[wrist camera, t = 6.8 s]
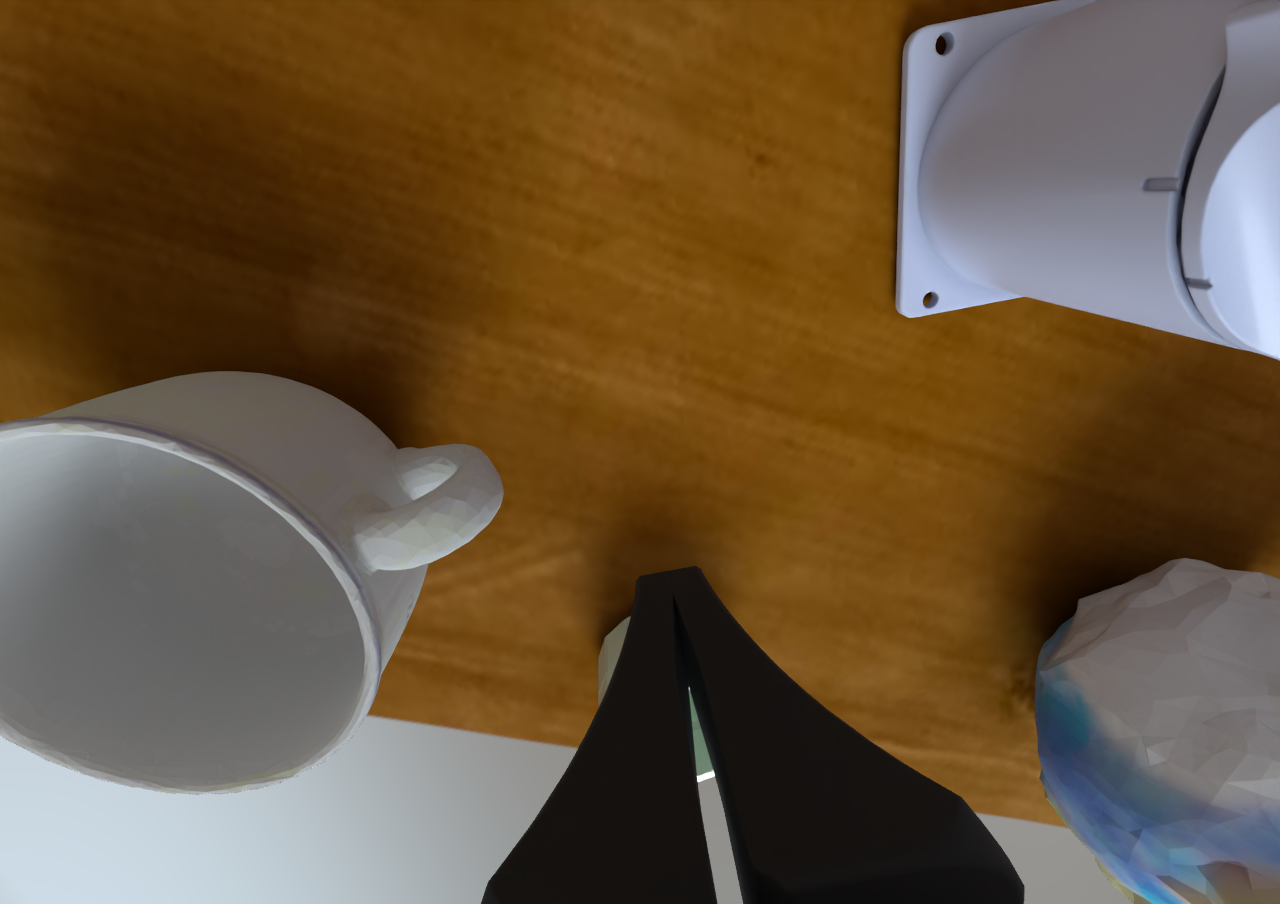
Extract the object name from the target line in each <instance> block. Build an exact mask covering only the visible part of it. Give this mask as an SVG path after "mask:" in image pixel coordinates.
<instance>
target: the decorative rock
mask: <svg viewBox="0 0 1280 904" xmlns="http://www.w3.org/2000/svg"><path fill="white" fill-rule="evenodd" d="M1035 718H1036V726H1037V734H1038V754H1039V758H1040V762H1041V766H1042V770H1041V774H1040V780H1041V782H1042V785H1043V787H1044V792H1045V797H1046V798H1047V800H1048V801H1049V802H1050V804H1051V805H1052V806H1053V808H1054V809H1055V810H1056V812H1057V813H1058V815H1059V816H1060V817H1061V819H1062V820H1063V822H1064V823H1065V824H1066V825H1067V826H1068V828H1069V829H1070V830H1071V831H1072V832H1073V833H1074V835H1075V836H1076V837H1077V838H1078V839H1079V840H1080V841H1081V843H1082V844H1083V845H1084V846H1085V847H1086V848H1087V849H1088V850H1089V851H1090V852H1091V854H1092V855H1093V856H1094V858H1095V860H1096V862H1097V864H1098V866H1099V868H1100V870H1101V871H1102V872H1103V874H1104V875H1105V877H1106V878H1107V879H1108V881H1109V882H1110V883H1111V884H1112V885H1113V886H1114V887H1116V888H1117V889H1118V890H1119V891H1120V892H1122V893H1123V894H1124V895H1125V896H1126V897H1128V898H1129V899H1130V900H1131V901H1132V903H1133V904H1280V579H1278V578H1276V577H1273V576H1270V575H1267V574H1264V573H1259V572H1249V571H1238V570H1228V569H1223V568H1220V567H1218V566H1215V565H1213V564H1210V563H1207V562H1205V561H1201V560H1194V559H1188V558H1181V559H1175V560H1170V561H1168V562H1167V563H1165V564H1163V565H1162V566H1160V567H1158V568H1156V569H1155V570H1153V571H1151V572H1149V573H1146V574H1143V575H1139V576H1138V577H1136V578H1134V579H1133V580H1131V581H1129V582H1127V583H1124V584H1122V585H1119V586H1115V587H1113V588H1110V589H1107V590H1104V591H1101V592H1098V593H1095V594H1093V595H1090V596H1087V597H1084V598H1081V599H1078V606H1077V611H1076V613H1075V615H1074V616H1073V617H1072V618H1070V619H1069V620H1067V621H1066V622H1064V623H1063V624H1061V626H1060V627H1059V628H1058V629H1057V631H1056V632H1055V633H1054V635H1053V636H1052V637H1051V638H1050V639H1048V640H1047V641H1046V642H1045V643H1044V644H1043V647H1042V649H1041V651H1040V654H1039V656H1038V662H1037V668H1036V675H1035Z"/></svg>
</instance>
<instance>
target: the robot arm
mask: <svg viewBox="0 0 1280 904" xmlns="http://www.w3.org/2000/svg"><path fill="white" fill-rule="evenodd" d="M939 36H942V37H943V38H944V39H945V41H946V48H945V52H944V53H943V54H942V55H939V54H938V53H937V52H936V47H935V45H936V41H937V39H938V37H939ZM929 292H931V294H932V298H931V301H930V302H929V303H928V304H927V305H923V298H924V296H925V295H926V294H927V293H929ZM1019 297H1029V298H1033V299H1037V300H1042V301H1046V302H1050V303H1054V304H1058V305H1062V306H1066V307H1070V308H1074V309H1078V310H1082V311H1086V312H1090V313H1094V314H1098V315H1102V316H1106V317H1111V318H1115V319H1119V320H1123V321H1127V322H1131V323H1135V324H1139V325H1143V326H1147V327H1151V328H1155V329H1159V330H1163V331H1167V332H1171V333H1175V334H1180V335H1184V336H1188V337H1192V338H1196V339H1200V340H1204V341H1208V342H1212V343H1216V344H1220V345H1224V346H1228V347H1232V348H1236V349H1240V350H1246V351H1252V352H1255V353H1258V354H1262V355H1265V356H1268V357H1271V358H1274V359H1277V360H1279V361H1280V0H1057V1H1052V2H1047V3H1042V4H1036V5H1031V6H1026V7H1021V8H1016V9H1010V10H1005V11H1000V12H995V13H990V14H984V15H979V16H974V17H969V18H964V19H959V20H953V21H948V22H943V23H938V24H933V25H927V26H925V27H923V28H920V29H918V30H916V31H914V32H913V33H912V34H911V35H910V36H909V37H908V39H907V41H906V43H905V45H904V49H903V59H902V94H901V128H900V163H899V197H898V232H897V266H896V301H895V304H896V309H897V311H898V312H899V313H900V314H902V315H904V316H906V317H919V316H925V315H930V314H935V313H940V312H946V311H951V310H956V309H961V308H967V307H972V306H977V305H983V304H988V303H993V302H998V301H1004V300H1009V299H1014V298H1019ZM689 689H690V693H691V696H692V699H693V703H694V706H695V710H696V713H697V716H698V720H699V723H700V727H701V730H702V734H703V737H704V740H705V744H706V747H707V750H708V754H709V757H710V761H711V764H712V767H713V771H714V774H715V778H716V781H717V784H718V788H719V792H720V796H721V800H722V804H723V808H724V812H725V817H726V821H727V826H728V832H729V836H730V841H731V846H732V850H733V855H734V860H735V865H736V870H737V875H738V880H739V885H740V889H741V895H742V900H743V904H1024V885H1023V883H1022V881H1021V879H1020V878H1019V876H1018V874H1017V872H1016V870H1015V868H1014V867H1013V865H1012V863H1011V862H1010V860H1009V858H1008V857H1007V855H1006V854H1005V852H1004V851H1003V849H1002V848H1001V847H1000V845H999V844H998V842H997V841H996V840H995V839H994V837H993V836H992V835H991V833H990V832H989V831H988V830H987V828H986V827H985V826H984V824H983V823H982V822H981V820H980V819H979V818H978V817H977V815H976V814H975V813H974V812H973V811H972V809H971V808H970V807H969V806H968V804H967V803H966V802H965V801H964V800H963V799H962V797H960V796H958V795H957V794H955V793H953V792H952V791H950V790H948V789H946V788H945V787H943V786H941V785H939V784H938V783H936V782H934V781H932V780H931V779H929V778H927V777H926V776H924V775H922V774H920V773H919V772H917V771H915V770H914V769H912V768H911V767H909V766H907V765H906V764H904V763H902V762H901V761H899V760H898V759H896V758H895V757H893V756H892V755H890V754H889V753H887V752H886V751H884V750H883V749H881V748H880V747H878V746H877V745H875V744H874V743H872V742H871V741H869V740H868V739H867V738H865V737H864V736H863V735H861V734H860V733H858V732H857V731H856V730H854V729H853V728H852V727H850V726H849V725H848V724H846V723H845V722H844V721H842V720H841V719H840V718H838V717H837V716H835V715H834V714H833V713H831V712H830V711H829V710H827V709H826V708H825V707H824V706H823V705H821V704H820V703H819V702H818V701H817V700H815V699H814V698H813V697H812V696H811V695H809V694H808V693H807V692H806V691H805V690H803V689H802V688H801V687H800V686H799V685H798V684H797V683H796V682H795V681H793V680H792V679H791V678H790V677H789V676H788V675H787V674H786V673H785V672H784V671H783V670H782V669H780V668H779V667H778V666H777V665H776V664H775V663H774V662H773V661H772V660H771V659H770V658H769V657H768V656H767V654H766V653H765V652H764V651H763V650H762V649H761V648H760V647H759V646H758V645H757V644H756V643H755V642H754V641H753V640H752V638H751V637H750V636H749V635H748V634H747V633H746V632H745V630H744V629H743V628H742V627H741V626H740V624H739V623H738V622H737V621H736V620H735V618H734V617H733V616H732V615H731V614H730V612H729V611H728V610H727V609H726V607H725V606H724V605H723V603H722V602H721V600H720V599H719V598H718V596H717V595H716V594H715V592H714V591H713V589H712V588H711V586H710V584H709V583H708V581H707V580H706V578H705V576H704V574H703V572H702V570H701V569H700V568H698V567H696V566H693V567H687V568H682V569H676V570H671V571H665V572H659V573H654V574H648V575H643V576H640V577H639V578H638V579H637V580H636V590H635V598H634V603H633V609H632V613H631V617H630V622H629V625H628V629H627V632H626V636H625V639H624V642H623V646H622V649H621V652H620V655H619V658H618V661H617V663H616V666H615V669H614V672H613V674H612V677H611V680H610V682H609V685H608V688H607V690H606V692H605V695H604V697H603V699H602V702H601V704H600V706H599V708H598V710H597V713H596V715H595V717H594V719H593V721H592V723H591V725H590V727H589V729H588V731H587V733H586V735H585V737H584V739H583V741H582V742H581V744H580V746H579V748H578V750H577V752H576V754H575V756H574V757H573V759H572V761H571V763H570V764H569V766H568V768H567V770H566V772H565V773H564V775H563V776H562V778H561V779H560V781H559V783H558V784H557V786H556V787H555V789H554V790H553V792H552V793H551V795H550V797H549V798H548V800H547V801H546V803H545V805H544V806H543V807H542V809H541V811H540V812H539V814H538V815H537V817H536V818H535V820H534V821H533V823H532V824H531V825H530V827H529V828H528V830H527V831H526V833H525V834H524V835H523V837H522V838H521V839H520V840H519V842H518V843H517V844H516V846H515V847H514V848H513V850H512V851H511V852H510V854H509V855H508V857H507V858H506V859H505V861H504V862H503V863H502V865H501V866H500V867H499V869H498V870H497V871H496V873H495V874H494V875H493V876H492V878H491V879H490V880H489V882H488V884H487V887H486V890H485V893H484V896H483V899H482V902H481V904H717V899H716V893H715V888H714V882H713V876H712V870H711V865H710V859H709V854H708V848H707V842H706V836H705V831H704V825H703V820H702V814H701V806H700V798H699V791H698V781H697V770H696V759H695V749H694V738H693V728H692V717H691V706H690V696H689Z"/></svg>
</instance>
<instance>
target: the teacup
mask: <svg viewBox="0 0 1280 904" xmlns="http://www.w3.org/2000/svg"><path fill="white" fill-rule="evenodd" d="M503 494H504V492H503V487H502V482H501V478H500V475H499V474H498V472H497V471H496V469H495V467H494V466H493V464H492V462H491V461H490V459H489V458H488V457H487V456H486V454H485V453H484V452H483V451H481V450H480V449H478V448H476V447H474V446H470V445H464V444H449V445H440V446H434V447H428V448H422V449H418V448H414V447H406V448H402V449H397V448H396V446H395V445H394V444H393V442H392V441H391V440H390V439H389V438H388V437H387V436H386V435H385V434H384V433H383V432H382V431H381V430H380V429H379V428H378V427H377V426H376V425H375V424H374V423H372V422H371V421H370V420H369V419H367V418H366V417H365V416H364V415H362V414H361V413H360V412H358V411H357V410H355V409H353V408H352V407H350V406H349V405H347V404H346V403H344V402H342V401H341V400H339V399H337V398H336V397H334V396H332V395H330V394H328V393H326V392H324V391H321V390H319V389H317V388H314V387H312V386H309V385H306V384H303V383H300V382H296V381H293V380H290V379H287V378H283V377H278V376H273V375H268V374H262V373H252V372H239V371H216V372H202V373H195V374H188V375H181V376H175V377H171V378H167V379H163V380H159V381H155V382H151V383H147V384H144V385H140V386H136V387H132V388H128V389H125V390H121V391H117V392H114V393H111V394H107V395H104V396H101V397H97V398H94V399H91V400H88V401H85V402H82V403H79V404H76V405H73V406H70V407H66V408H63V409H60V410H57V411H54V412H51V413H48V414H45V415H42V416H39V417H36V418H28V419H19V420H14V421H9V422H5V423H1V424H0V735H1V736H2V737H3V738H5V739H6V740H8V741H10V742H12V743H14V744H16V745H18V746H20V747H22V748H24V749H26V750H28V751H30V752H32V753H34V754H36V755H38V756H40V757H41V758H43V759H45V760H48V761H50V762H53V763H56V764H58V765H61V766H63V767H66V768H68V769H71V770H74V771H77V772H80V773H82V774H85V775H88V776H91V777H94V778H97V779H100V780H104V781H108V782H113V783H117V784H122V785H126V786H130V787H137V788H143V789H148V790H153V791H160V792H166V793H182V794H195V795H199V794H210V793H211V794H223V793H238V792H242V791H245V790H253V789H259V788H263V787H267V786H271V785H275V784H278V783H281V782H282V781H284V780H288V779H291V778H294V777H298V776H299V775H300V774H301V773H302V772H304V771H306V770H309V769H311V768H312V767H314V766H316V765H319V764H321V763H323V762H325V760H326V759H327V758H329V757H330V756H332V755H334V754H335V753H336V752H337V751H338V750H340V749H341V748H342V747H343V746H344V745H345V744H346V743H347V742H348V741H349V740H350V739H351V738H352V737H353V735H354V734H355V733H356V731H357V729H358V728H359V726H360V725H361V723H362V721H363V720H364V718H365V716H366V715H367V713H368V712H369V709H370V707H371V705H372V703H373V701H374V698H375V696H376V693H377V690H378V686H379V682H380V677H381V674H382V672H383V670H384V668H385V666H386V665H387V663H388V661H389V659H390V657H391V655H392V653H393V651H394V649H395V647H396V645H397V643H398V641H399V639H400V637H401V635H402V633H403V631H404V628H405V626H406V624H407V622H408V620H409V617H410V615H411V613H412V611H413V608H414V606H415V604H416V601H417V599H418V596H419V593H420V590H421V588H422V585H423V582H424V578H425V575H426V571H427V567H428V563H431V562H433V561H435V560H437V559H439V558H441V557H444V556H446V555H448V554H450V553H451V552H453V551H454V550H456V549H458V548H459V547H461V546H462V545H464V544H466V543H467V542H469V541H470V540H472V539H473V538H474V537H475V536H476V535H477V534H478V533H479V532H480V531H481V530H482V529H483V528H485V527H486V526H487V525H488V524H489V523H490V522H491V520H492V519H493V517H494V516H495V514H496V513H497V511H498V509H499V508H500V506H501V502H502V498H503Z"/></svg>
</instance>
